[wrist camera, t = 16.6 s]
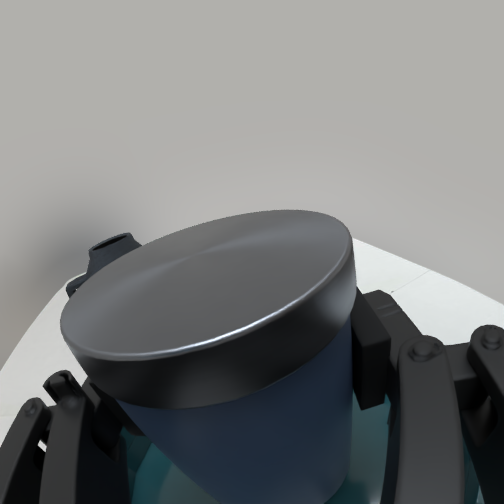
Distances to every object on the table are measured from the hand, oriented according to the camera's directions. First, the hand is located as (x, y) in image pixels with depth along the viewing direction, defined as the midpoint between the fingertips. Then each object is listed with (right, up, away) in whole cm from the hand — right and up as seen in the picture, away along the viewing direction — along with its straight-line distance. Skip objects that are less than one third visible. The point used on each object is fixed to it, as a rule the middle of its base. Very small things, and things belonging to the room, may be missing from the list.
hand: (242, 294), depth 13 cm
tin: (+2, -8, -3) cm, 8 cm away
